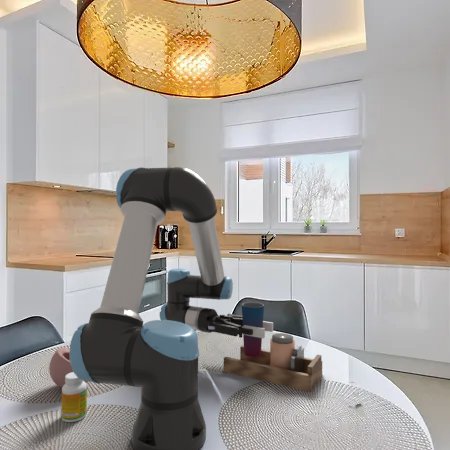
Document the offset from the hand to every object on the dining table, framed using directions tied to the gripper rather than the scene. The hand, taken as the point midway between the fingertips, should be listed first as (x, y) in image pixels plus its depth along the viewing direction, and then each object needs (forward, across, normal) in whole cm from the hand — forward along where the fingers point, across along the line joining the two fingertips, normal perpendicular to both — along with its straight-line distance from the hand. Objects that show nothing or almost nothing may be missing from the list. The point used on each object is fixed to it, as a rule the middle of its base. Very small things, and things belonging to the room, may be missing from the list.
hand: (268, 330), depth 105 cm
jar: (+4, 0, -12) cm, 13 cm away
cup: (-5, 0, -8) cm, 10 cm away
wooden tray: (+1, 0, -13) cm, 13 cm away
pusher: (+9, 0, -12) cm, 15 cm away
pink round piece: (-43, +34, -13) cm, 56 cm away
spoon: (+26, +5, -14) cm, 30 cm away
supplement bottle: (-30, +43, -13) cm, 55 cm away
